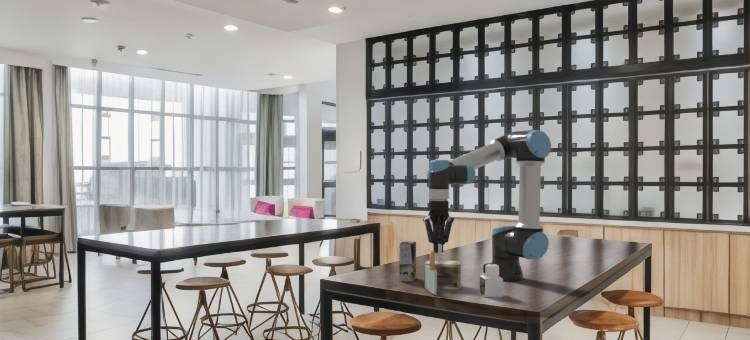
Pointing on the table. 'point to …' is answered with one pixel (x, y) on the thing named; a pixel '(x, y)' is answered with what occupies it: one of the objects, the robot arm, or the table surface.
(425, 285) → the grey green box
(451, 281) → the cubby
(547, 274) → the table surface
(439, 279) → the cartridge
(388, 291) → the table surface
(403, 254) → the coffee box
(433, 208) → the robot arm
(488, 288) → the medicine bottle
